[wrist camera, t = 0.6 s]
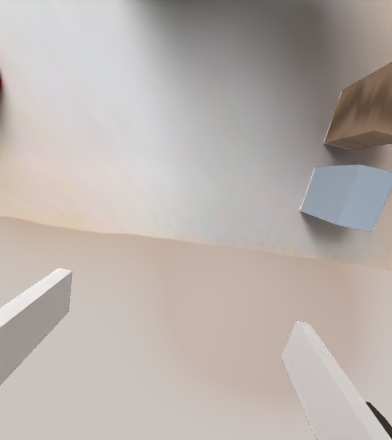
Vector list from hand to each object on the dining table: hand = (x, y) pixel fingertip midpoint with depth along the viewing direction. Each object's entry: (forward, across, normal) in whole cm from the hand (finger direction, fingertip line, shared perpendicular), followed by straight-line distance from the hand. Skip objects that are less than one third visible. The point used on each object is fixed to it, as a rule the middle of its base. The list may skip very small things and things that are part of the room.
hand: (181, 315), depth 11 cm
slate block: (+26, +21, +9) cm, 35 cm away
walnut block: (+26, +21, +21) cm, 40 cm away
